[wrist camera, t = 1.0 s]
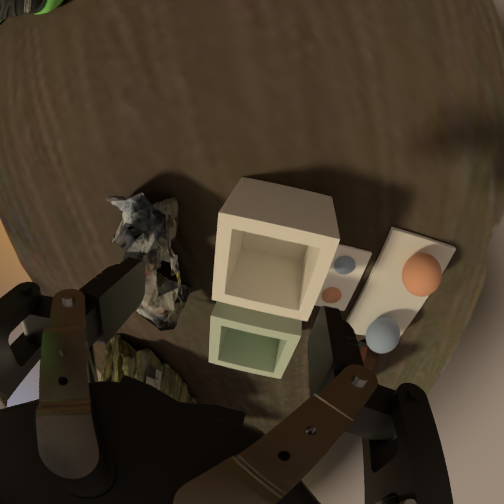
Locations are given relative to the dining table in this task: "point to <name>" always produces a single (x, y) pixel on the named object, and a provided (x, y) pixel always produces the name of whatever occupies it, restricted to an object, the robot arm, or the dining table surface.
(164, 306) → the foil
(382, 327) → the blue ball
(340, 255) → the card
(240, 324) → the sage cup
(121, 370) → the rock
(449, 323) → the dining table surface
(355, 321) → the felt mat
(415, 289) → the terracotta ball
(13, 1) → the running shoe
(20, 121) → the dining table surface
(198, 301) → the dining table surface
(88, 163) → the dining table surface
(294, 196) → the cream cup
